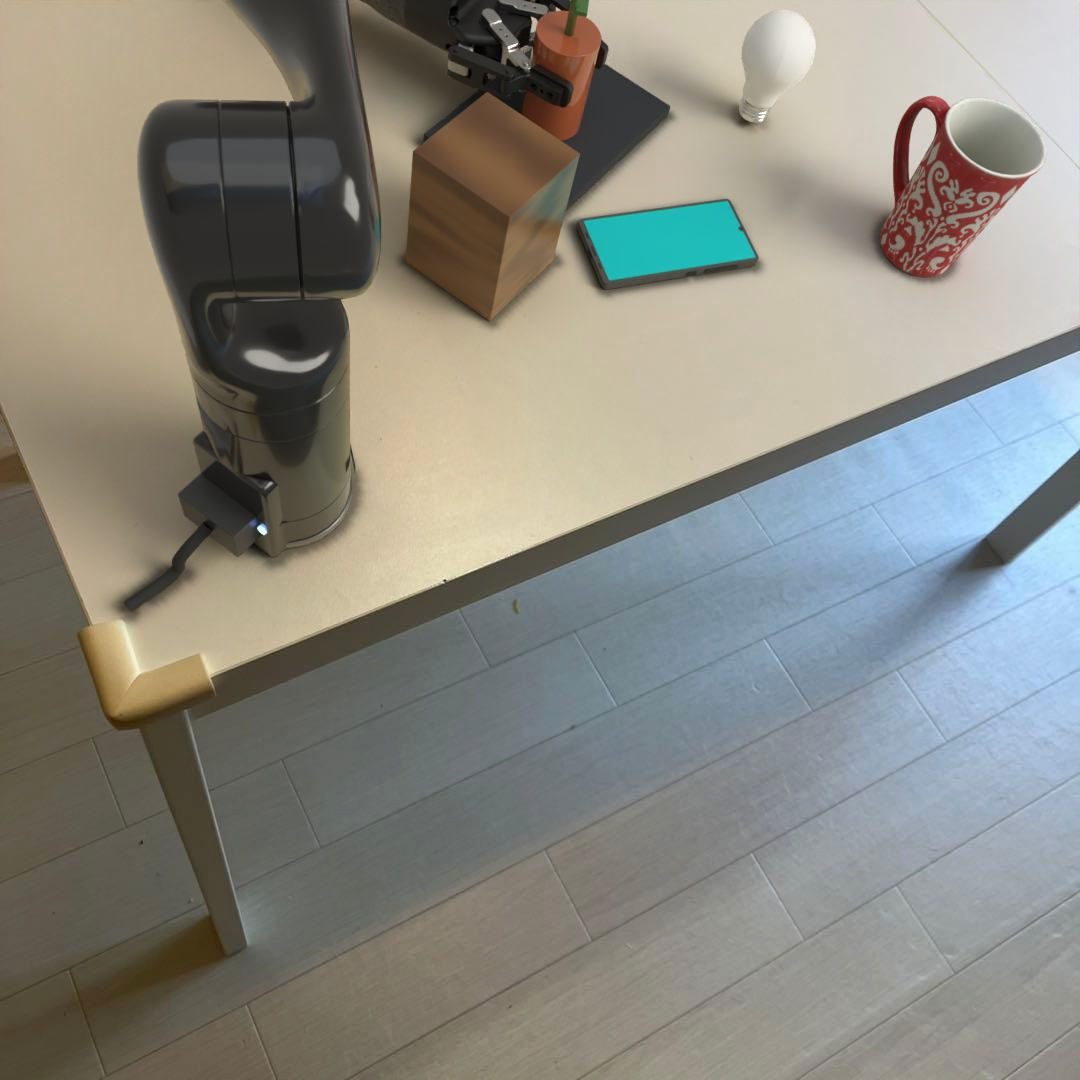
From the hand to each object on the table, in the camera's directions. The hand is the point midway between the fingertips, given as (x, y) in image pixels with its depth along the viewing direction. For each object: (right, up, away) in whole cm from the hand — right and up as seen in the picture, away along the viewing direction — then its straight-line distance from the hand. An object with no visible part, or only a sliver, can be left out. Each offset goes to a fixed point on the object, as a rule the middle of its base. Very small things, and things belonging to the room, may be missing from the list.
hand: (587, 76), depth 88 cm
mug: (+30, -11, +8) cm, 33 cm away
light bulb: (+16, +1, +12) cm, 20 cm away
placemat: (-3, -2, +7) cm, 8 cm away
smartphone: (+7, -14, +3) cm, 16 cm away
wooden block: (-9, -16, -2) cm, 19 cm away
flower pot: (-3, -1, +6) cm, 6 cm away
